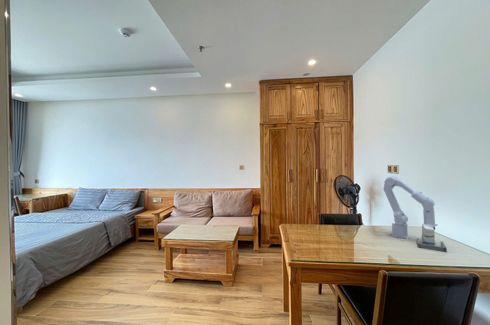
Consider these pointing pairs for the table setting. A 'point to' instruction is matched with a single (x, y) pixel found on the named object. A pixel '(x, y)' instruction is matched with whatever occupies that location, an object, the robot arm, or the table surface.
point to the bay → (432, 246)
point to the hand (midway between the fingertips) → (430, 237)
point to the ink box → (428, 235)
